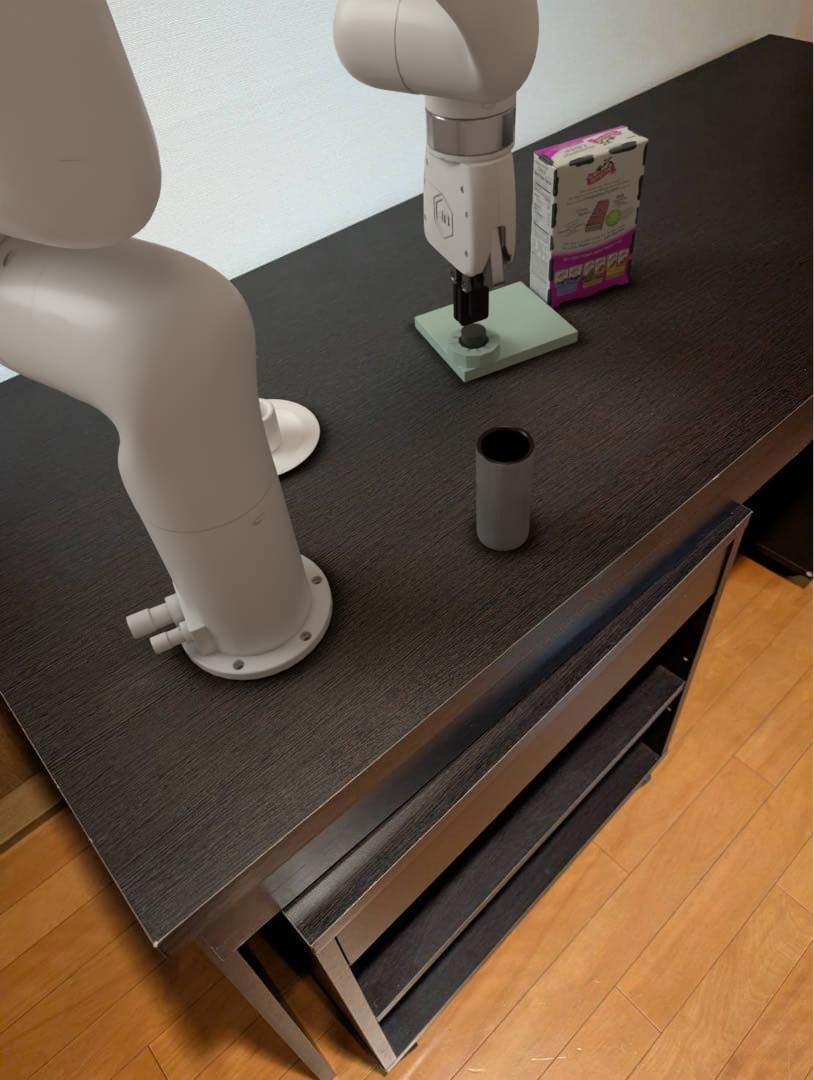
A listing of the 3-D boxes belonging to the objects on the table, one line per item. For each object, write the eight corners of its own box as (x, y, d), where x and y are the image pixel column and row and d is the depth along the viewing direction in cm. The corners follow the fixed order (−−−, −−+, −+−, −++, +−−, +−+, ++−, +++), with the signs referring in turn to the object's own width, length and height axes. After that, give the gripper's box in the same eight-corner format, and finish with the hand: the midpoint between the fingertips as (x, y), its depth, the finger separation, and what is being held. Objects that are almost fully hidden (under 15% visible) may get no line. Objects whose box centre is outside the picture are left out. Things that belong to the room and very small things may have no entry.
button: (468, 352, 79) (468, 340, 78) (457, 340, 81) (456, 327, 80) (490, 345, 80) (490, 332, 79) (478, 332, 81) (478, 320, 80)
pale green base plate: (463, 385, 80) (462, 361, 78) (412, 328, 88) (411, 304, 85) (578, 343, 83) (581, 319, 81) (520, 291, 91) (521, 268, 89)
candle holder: (189, 428, 79) (176, 394, 76) (298, 391, 81) (290, 358, 78) (219, 502, 71) (206, 468, 68) (338, 459, 74) (331, 425, 71)
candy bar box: (605, 265, 93) (624, 122, 81) (629, 284, 90) (652, 138, 78) (525, 291, 91) (531, 148, 78) (547, 312, 88) (557, 166, 75)
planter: (526, 554, 65) (532, 466, 57) (473, 548, 65) (471, 461, 58) (531, 515, 67) (537, 426, 60) (480, 510, 68) (480, 422, 60)
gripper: (393, 110, 68) (406, 296, 81) (474, 169, 59) (474, 367, 72) (467, 91, 70) (468, 276, 83) (557, 146, 60) (542, 344, 74)
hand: (471, 318), depth 78 cm, fingers closed
